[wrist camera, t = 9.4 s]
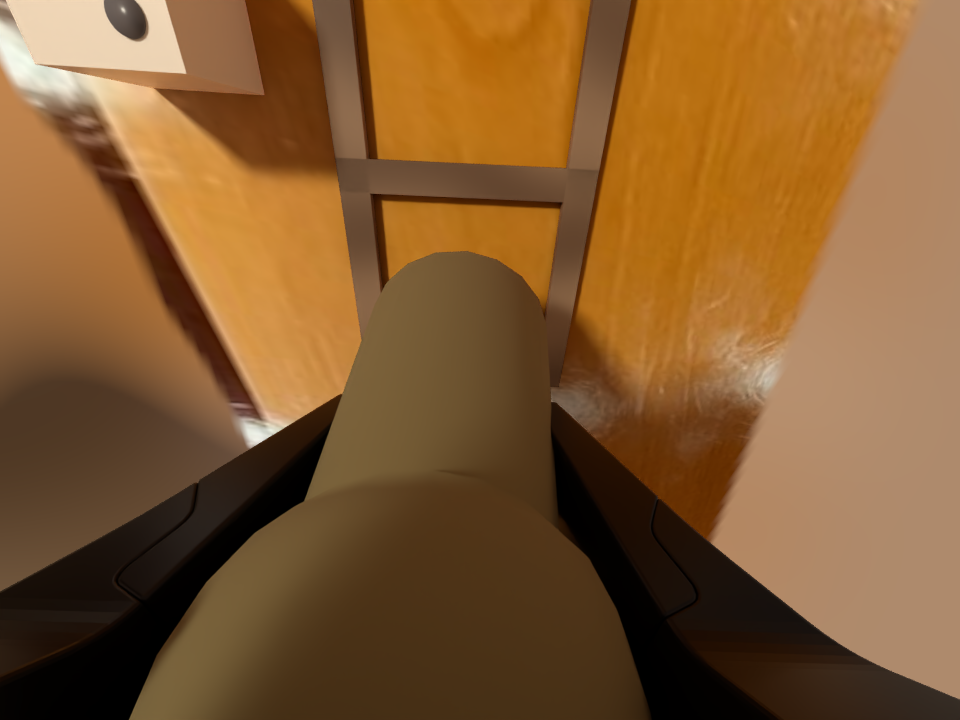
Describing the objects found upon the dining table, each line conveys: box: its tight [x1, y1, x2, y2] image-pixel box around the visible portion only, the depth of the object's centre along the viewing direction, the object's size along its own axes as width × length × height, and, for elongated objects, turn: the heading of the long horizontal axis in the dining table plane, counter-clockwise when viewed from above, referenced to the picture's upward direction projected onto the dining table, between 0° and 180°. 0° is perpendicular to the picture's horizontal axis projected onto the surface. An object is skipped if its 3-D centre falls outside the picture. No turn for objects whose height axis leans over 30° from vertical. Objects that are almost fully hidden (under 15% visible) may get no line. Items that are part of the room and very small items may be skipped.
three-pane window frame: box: [312, 0, 631, 387], centre depth 12 cm, size 28×10×1 cm, turn 178°
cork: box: [129, 251, 652, 720], centre depth 7 cm, size 6×6×11 cm
